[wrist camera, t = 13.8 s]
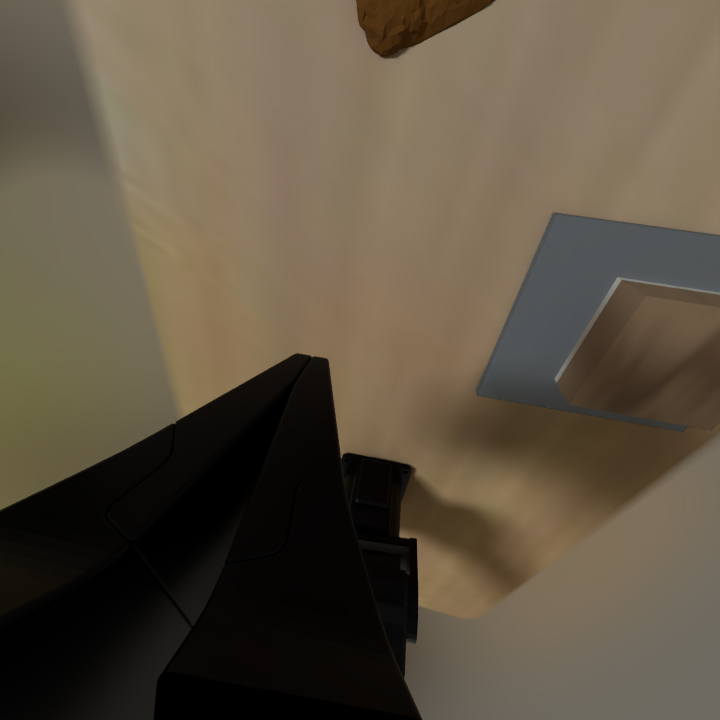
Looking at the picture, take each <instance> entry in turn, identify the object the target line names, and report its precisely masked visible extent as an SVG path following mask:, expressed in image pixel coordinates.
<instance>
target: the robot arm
mask: <svg viewBox="0 0 720 720" xmlns="http://www.w3.org/2000/svg"><path fill="white" fill-rule="evenodd" d="M410 474H411V467H410V466H408V465H403V464H398V463H393V462H388V461H383V460H378V459H373V458H368V457H362V456H357V455H352V454H343V456H342V459H341V457H340V447H339V439H338V431H337V423H336V415H335V408H334V400H333V392H332V384H331V376H330V368H329V361H328V359H327V358H321V357H316V356H314V357H311V356H310V355H304V354H299V353H297V354H294V355H292V356H290V357H289V358H287V359H285V360H283V361H282V362H280V363H278V364H276V365H275V366H273V367H271V368H269V369H268V370H266V371H264V372H262V373H261V374H259V375H257V376H255V377H253V378H252V379H250V380H248V381H246V382H245V383H243V384H241V385H239V386H238V387H236V388H234V389H232V390H231V391H229V392H227V393H225V394H224V395H222V396H220V397H218V398H216V399H215V400H213V401H211V402H209V403H208V404H206V405H204V406H202V407H201V408H199V409H197V410H195V411H194V412H192V413H190V414H188V415H187V416H185V417H183V418H181V419H179V420H178V421H176V423H175V424H170V425H169V426H167V427H165V428H163V429H162V430H160V431H158V432H156V433H155V434H153V435H151V436H149V437H147V438H145V439H144V440H142V441H140V442H138V443H136V444H134V445H132V446H131V447H129V448H127V449H125V450H123V451H121V452H119V453H117V454H115V455H113V456H111V457H109V458H107V459H105V460H103V461H101V462H99V463H97V464H95V465H93V466H91V467H89V468H87V469H85V470H83V471H81V472H79V473H77V474H74V475H73V476H70V477H68V478H66V479H64V480H62V481H60V482H58V483H56V484H54V485H52V486H50V487H47V488H45V489H44V490H41V491H39V492H37V493H35V494H33V495H31V496H29V497H27V498H25V499H23V500H20V501H19V502H16V503H14V504H12V505H10V506H8V507H6V508H4V509H2V510H0V720H422V718H421V716H420V713H419V711H418V709H417V707H416V704H415V702H414V700H413V698H412V695H411V693H410V691H409V689H408V686H407V684H406V682H405V680H404V676H405V653H406V642H407V643H413V644H416V640H417V626H418V568H417V539H416V538H410V539H407V538H400V537H399V530H400V509H401V501H402V498H403V495H404V492H405V489H406V486H407V483H408V480H409V477H410Z"/></svg>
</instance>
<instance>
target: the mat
mask: <svg viewBox="0 0 720 720" xmlns="http://www.w3.org/2000/svg"><path fill="white" fill-rule="evenodd" d="M617 277H620V278H626V279H633V280H640V281H646V282H653V283H659V284H666V285H672V286H679V287H686V288H692V289H699V290H705V291H712V292H718V293H720V235H714V234H707V233H699V232H692V231H685V230H677V229H670V228H663V227H655V226H648V225H641V224H633V223H626V222H619V221H611V220H604V219H597V218H590V217H582V216H575V215H568V214H560V213H553V214H552V217H551V219H550V221H549V224H548V226H547V228H546V231H545V233H544V235H543V238H542V240H541V242H540V244H539V247H538V249H537V251H536V254H535V256H534V258H533V261H532V263H531V265H530V268H529V270H528V272H527V274H526V277H525V279H524V281H523V284H522V286H521V288H520V291H519V293H518V295H517V298H516V300H515V302H514V305H513V307H512V309H511V311H510V314H509V316H508V318H507V321H506V323H505V325H504V328H503V330H502V332H501V335H500V337H499V339H498V342H497V344H496V346H495V348H494V351H493V353H492V355H491V358H490V360H489V362H488V365H487V367H486V369H485V372H484V374H483V376H482V379H481V381H480V383H479V385H478V388H477V390H476V392H477V395H478V396H484V397H489V398H495V399H501V400H506V401H512V402H518V403H523V404H529V405H534V406H540V407H546V408H551V409H557V410H563V411H568V412H574V413H579V414H585V415H591V416H596V417H602V418H607V419H613V420H619V421H624V422H630V423H636V424H641V425H647V426H652V427H658V428H664V429H669V430H675V431H680V432H683V431H684V430H685V429H686V428H687V427H688V426H684V425H678V424H673V423H667V422H662V421H656V420H651V419H645V418H639V417H634V416H628V415H623V414H617V413H612V412H606V411H601V410H595V409H589V408H584V407H578V406H573V405H569V403H568V402H567V400H566V398H565V396H564V395H563V393H562V391H561V390H560V388H559V386H558V384H557V383H556V381H555V377H556V376H557V374H558V372H559V371H560V369H561V367H562V366H563V364H564V363H565V361H566V359H567V358H568V356H569V355H570V353H571V351H572V350H573V348H574V346H575V345H576V343H577V342H578V340H579V338H580V337H581V335H582V334H583V332H584V330H585V329H586V327H587V325H588V324H589V322H590V321H591V319H592V317H593V316H594V314H595V313H596V311H597V309H598V308H599V306H600V305H601V303H602V301H603V300H604V298H605V296H606V295H607V293H608V292H609V290H610V288H611V287H612V285H613V284H614V282H615V280H616V279H617Z"/></svg>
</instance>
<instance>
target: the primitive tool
mask: <svg viewBox="0 0 720 720" xmlns="http://www.w3.org/2000/svg"><path fill="white" fill-rule="evenodd" d="M356 1H357V11H358V21H359V24H360V26H361V27H362V28H363V29H364V30H365V33H366V38H367V42H368V44H369V46H370V48H371V49H372V50H373V51H374V52H375V53H377V54H378V55H380V56H383V55H390V54H392V53H395V52H397V51H398V50H400V49H402V48H406V47H409V46H412V45H416V44H419V43H421V42H423V41H425V40H426V39H428V38H430V37H431V36H433V35H434V34H436V33H439V32H441V31H443V30H445V29H447V28H449V27H451V26H453V25H455V24H457V23H459V22H461V21H462V20H464V19H466V18H467V17H469V16H471V15H472V14H474V13H475V12H477V11H479V10H480V9H482V8H483V7H484V6H485V5H487V4H488V3H489V2H491V1H493V0H356Z"/></svg>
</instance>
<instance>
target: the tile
mask: <svg viewBox="0 0 720 720" xmlns="http://www.w3.org/2000/svg"><path fill="white" fill-rule="evenodd" d="M555 381H556V383H557V384H558V386H559V388H560V390H561V391H562V393H563V395H564V396H565V398H566V400H567V402H568V403H569V405H573V406H578V407H584V408H589V409H595V410H601V411H606V412H612V413H617V414H623V415H628V416H634V417H639V418H645V419H651V420H656V421H662V422H667V423H673V424H678V425H684V426H690V427H695V428H701V429H706V430H712V429H713V428H715V427H716V426H717V425H718V424H719V423H720V293H718V292H712V291H705V290H699V289H692V288H686V287H679V286H672V285H666V284H659V283H653V282H646V281H640V280H633V279H626V278H620V277H617V279H616V280H615V282H614V284H613V285H612V287H611V288H610V290H609V292H608V293H607V295H606V296H605V298H604V300H603V301H602V303H601V305H600V306H599V308H598V309H597V311H596V313H595V314H594V316H593V317H592V319H591V321H590V322H589V324H588V325H587V327H586V329H585V330H584V332H583V334H582V335H581V337H580V338H579V340H578V342H577V343H576V345H575V346H574V348H573V350H572V351H571V353H570V355H569V356H568V358H567V359H566V361H565V363H564V364H563V366H562V367H561V369H560V371H559V372H558V374H557V376H556V377H555Z"/></svg>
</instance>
